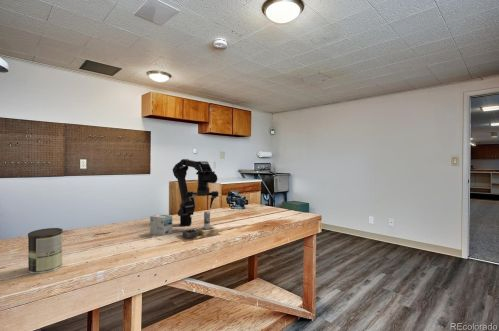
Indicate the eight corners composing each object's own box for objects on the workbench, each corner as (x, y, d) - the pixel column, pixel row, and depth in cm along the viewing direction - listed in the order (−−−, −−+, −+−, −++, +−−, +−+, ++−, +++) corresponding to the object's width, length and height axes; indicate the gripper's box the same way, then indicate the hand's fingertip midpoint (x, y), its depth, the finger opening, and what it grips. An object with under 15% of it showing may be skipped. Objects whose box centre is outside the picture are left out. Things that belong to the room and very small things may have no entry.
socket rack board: (185, 244, 126) (185, 236, 126) (174, 238, 136) (175, 230, 135) (221, 236, 141) (222, 229, 140) (210, 231, 150) (210, 224, 150)
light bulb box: (172, 234, 143) (173, 215, 143) (164, 237, 137) (164, 217, 137) (158, 231, 148) (158, 213, 148) (149, 234, 142) (149, 215, 141)
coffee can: (20, 274, 91) (20, 235, 91) (41, 263, 101) (41, 227, 101) (51, 273, 92) (51, 235, 92) (68, 262, 102) (68, 227, 102)
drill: (204, 234, 139) (204, 213, 139) (203, 233, 142) (203, 211, 142) (210, 234, 140) (210, 212, 140) (209, 232, 144) (209, 211, 143)
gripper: (184, 183, 143) (184, 211, 143) (217, 183, 145) (217, 210, 145) (187, 181, 154) (187, 207, 154) (218, 181, 156) (218, 207, 156)
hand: (202, 208), depth 152 cm, fingers open, 9 cm apart
